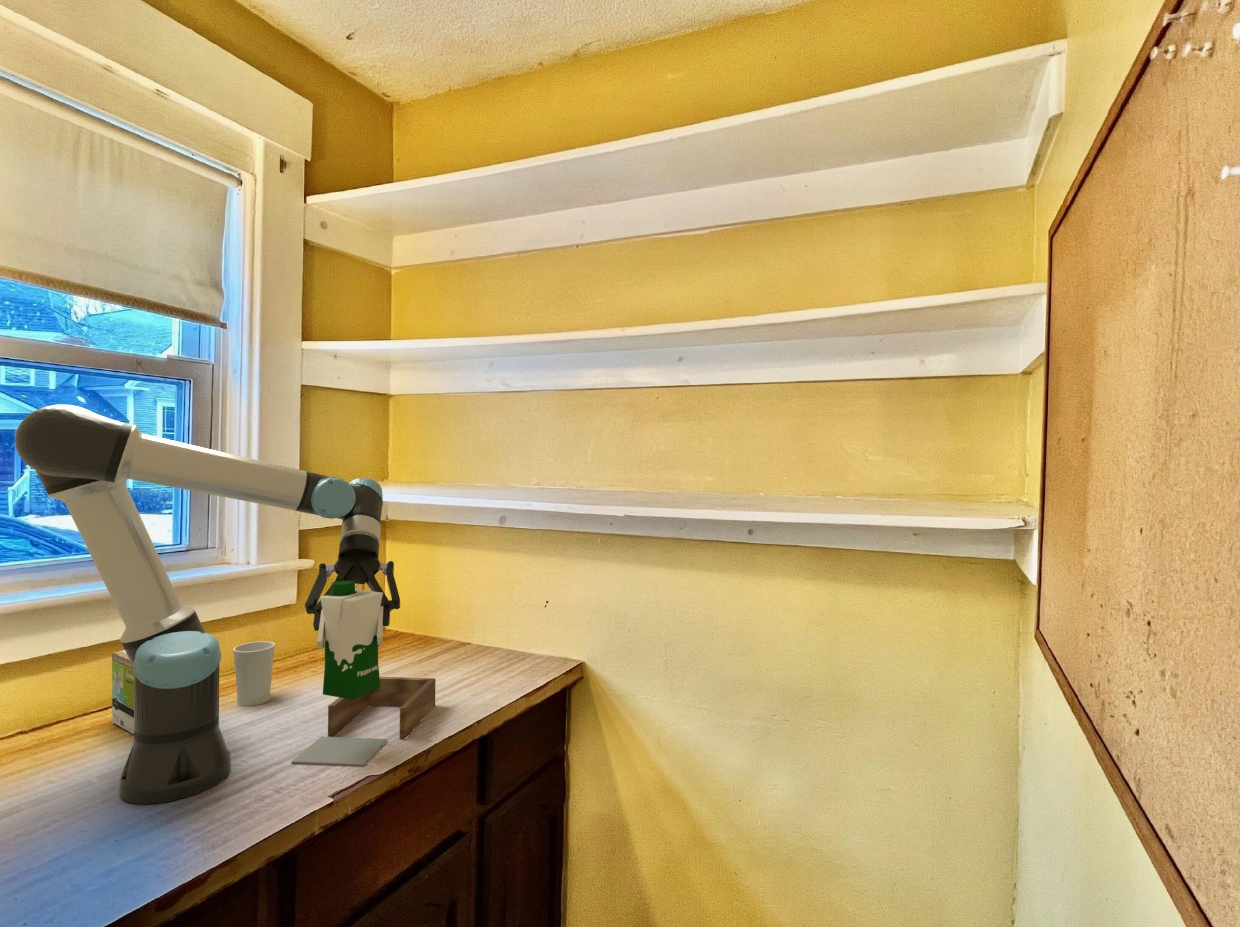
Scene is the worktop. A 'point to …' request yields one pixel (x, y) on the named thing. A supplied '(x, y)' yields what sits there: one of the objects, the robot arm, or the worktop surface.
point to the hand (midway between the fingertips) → (350, 643)
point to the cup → (253, 672)
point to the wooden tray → (387, 703)
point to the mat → (340, 751)
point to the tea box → (122, 691)
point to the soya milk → (350, 640)
